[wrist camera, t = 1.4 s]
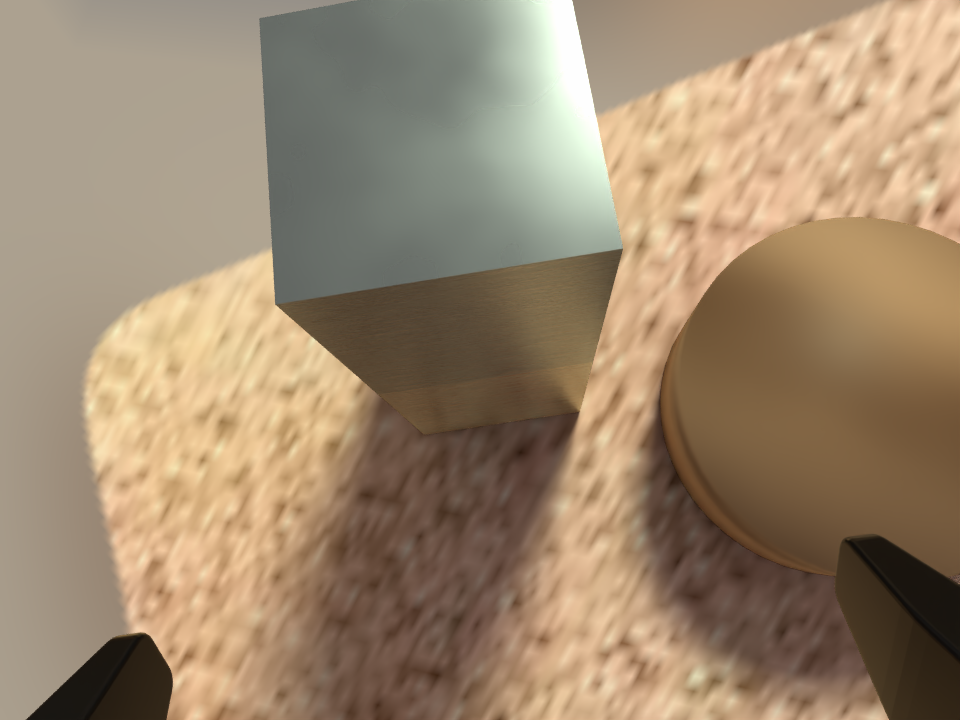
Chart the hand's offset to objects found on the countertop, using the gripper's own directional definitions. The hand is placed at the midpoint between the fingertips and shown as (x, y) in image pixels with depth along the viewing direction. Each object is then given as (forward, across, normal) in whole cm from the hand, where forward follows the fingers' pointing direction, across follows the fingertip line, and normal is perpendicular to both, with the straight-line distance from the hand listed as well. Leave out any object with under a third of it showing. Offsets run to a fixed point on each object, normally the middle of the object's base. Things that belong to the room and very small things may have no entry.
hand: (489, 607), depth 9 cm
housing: (+14, 0, +4) cm, 15 cm away
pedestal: (+12, -10, +7) cm, 17 cm away
